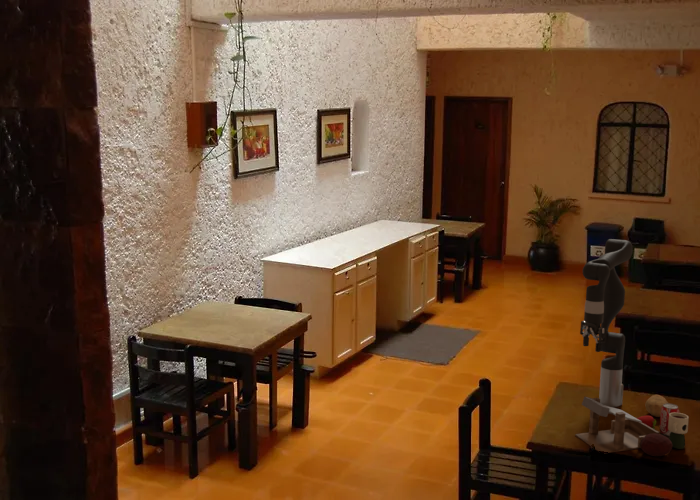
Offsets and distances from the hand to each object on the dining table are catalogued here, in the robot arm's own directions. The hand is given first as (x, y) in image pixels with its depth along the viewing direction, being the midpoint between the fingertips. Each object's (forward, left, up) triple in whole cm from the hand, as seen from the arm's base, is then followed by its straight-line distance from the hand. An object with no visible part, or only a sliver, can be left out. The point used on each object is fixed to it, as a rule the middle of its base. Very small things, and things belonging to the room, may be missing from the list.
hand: (591, 348), depth 315 cm
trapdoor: (+3, +18, -22) cm, 28 cm away
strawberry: (-17, +8, -30) cm, 36 cm away
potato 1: (-35, 0, -33) cm, 48 cm away
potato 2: (-7, +34, -33) cm, 48 cm away
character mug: (-20, +30, -33) cm, 49 cm away
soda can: (-26, +18, -33) cm, 46 cm away
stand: (-1, +18, -33) cm, 38 cm away
